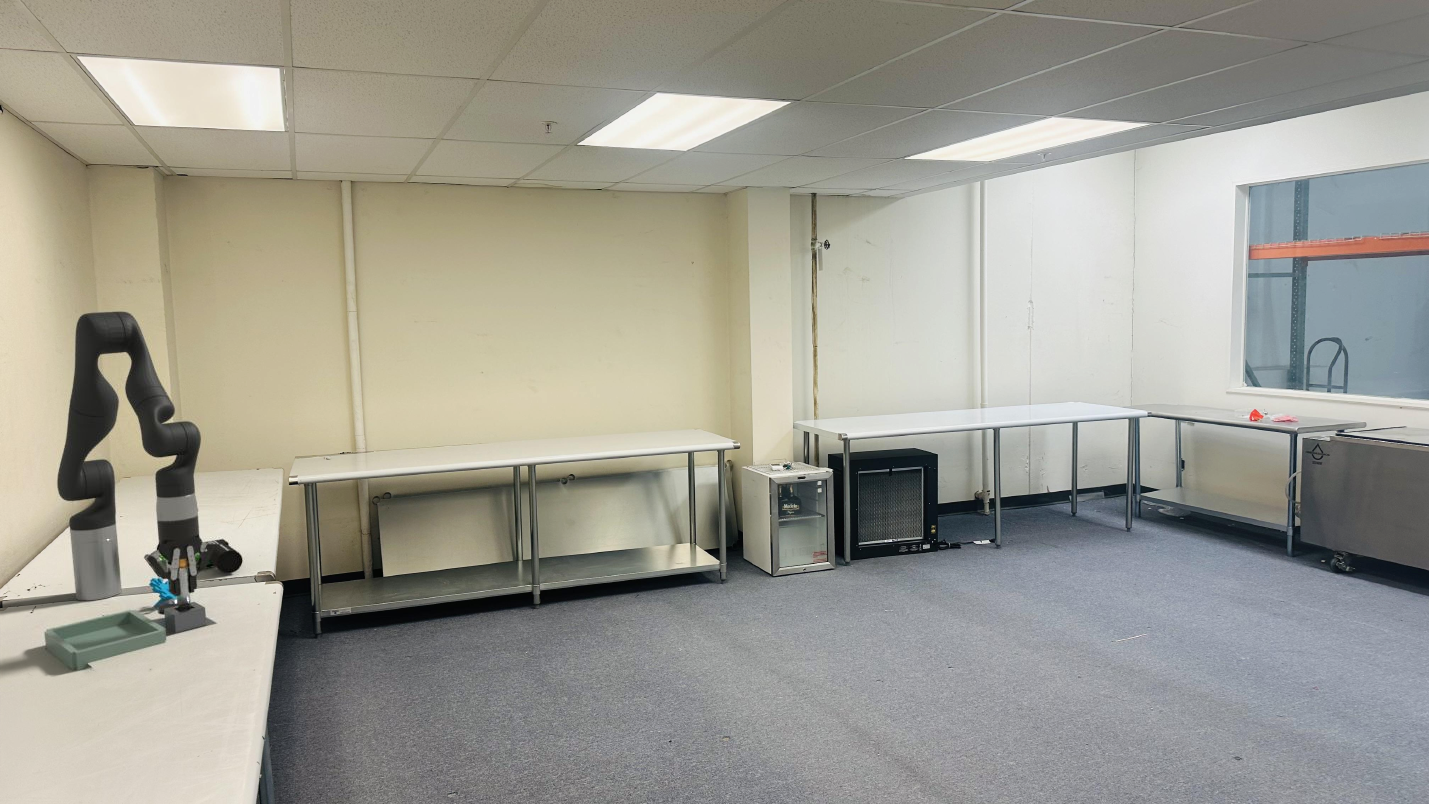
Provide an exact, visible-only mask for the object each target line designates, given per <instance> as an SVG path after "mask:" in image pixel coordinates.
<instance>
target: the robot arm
mask: <svg viewBox="0 0 1429 804" xmlns="http://www.w3.org/2000/svg"><path fill="white" fill-rule="evenodd" d="M74 338H75V342H74V351H75V352H74V374H73V379H72V381H73V382H72V389H71V394H70V399H69V407H68V413H67V426H66V427H67V428H66V436H65V437H66V438H65V441H64V443H65V444H64V448H63V451H62V456H61V460H60V463H59V468H58V472H57V480H56V482H57V483H56V484H57V485H56V487H57V491H58V495H59V496H60V498H61V499H62V500H64V501H68V502H77V501H84V500H90V499H91V500H93V499H94V501H93V502H92V504H90V505H89V506H88V507H86V508H85V509H83V510H81V511H79V512H77V513H75V514H73V515H72V516H71V517H70V518H69V523H68V525H69V535H70V545H71V554H72V555H71V556H72V567H73V568H72V569H73V579H74V589H75V599H76V600H79V601H96V600H101V599H102V600H103V599H107V598H111V597H114V596H117V595H118V594H121V592H122V581H121V579H122V578H121V567H120V565H121V563H120V555H119V554H120V553H119V543H118V531H117V530H118V529H117V519H116V517H117V516H116V515H117V509H116V508H117V507H116V477H115V470H114V468H113V465H112V464H111V462H110V461H109V460H108V459H104V458H103V459H92V460H86V459H87V457H88V455H89V454H90V453H91V452H92V450H94V449H95V448H96V447H97V446H98V445H99V444H100V443H101V442H102V441H103V440H105V438H106V437H107V436H108V435H109V433H111V431H112V430H113V429H114V427H115V425H116V422H117V419H118V418H117V417H118V411H119V405H120V404H119V403H120V400H119V396H118V393H117V392H116V391H115V389H114V387H113V386H112V385H111V383H110V382H109V381H108V380H107V379H106V378H105V376H104V375H103V373H102V371H101V370H100V369H99V358H100V357H101V355H109V354H122V353H127V355H128V356H129V358H130V363H131V364H130V368H129V372H128V375H127V378H126V381H125V386H124V389H125V391H124V392H125V396H126V399H127V400H128V402H129V404H130V406H131V408H132V410H133V411H134V413H135V415H136V416H137V420H138V424H139V428H140V432H141V434H140V435H141V442H142V443H141V444H142V447H143V449H144V451H145V452H146V454H148V455H149V456H151V457H154V458H158V459H159V458H168V457H173V456H175V459H174V461H173V462H172V463H171V464H169V465H167V466H165V467H164V466H163V467H162V468H160V469H158V470H157V471H156V472H155V476H154V477H155V490H156V492H155V493H156V503H155V504H156V506H155V507H156V508H155V509H156V525H157V536H158V543H157V546H156V550H154V551H152V552H151V553H150V554H148V553H147V554H145V555H144V557H143V558H144V560H145V561H146V563H147V564H148V565H149V566H150V568H151V570H152V571H153V572H154V574H155V575H156V576H157V578H161V579H163V580H167V581H168V584H169V592H170V593H171V594H173V596H175V597H176V596H179V595H180V594H179V580H178V579H177V571H178V568H179V561H180V559H184V558H186V560H187V561H188V573H189V587H190V594H192V593H193V594H194V593H195V590H197V589H198V588H197V587H198V582H197V574H199V573H200V572H204V571H205V570H206V569H207V568H206V566H207V564H208V562H209V559H210V557H211V555H212V553H213V550H214V548H215V545H214V544H211V543H209V542H207V541H203V539H202V538H201V537H200V524H199V507H198V502H197V497H196V488H195V486H196V485H195V476H194V475H195V470H196V466H197V460H198V457H199V456H198V455H199V452H200V448H201V443H202V441H201V440H202V436H201V432H200V430H199V428H198V426H197V425H196V424H195V423H193V422H192V421H188V420H183V421H182V420H181V421H175V422H168V421H169V420H171V419H172V418H173V417H174V415H175V412H176V409H175V406H174V404H173V402H172V400H171V398H170V397H169V394H168V393H167V392H166V389H165V387H164V386H163V385H162V383H161V381H160V378H159V376H158V374H157V372H156V369H155V366H154V363H153V359H152V357H151V354H150V351H149V348H148V346H147V343H146V340H145V338H144V334H143V332H142V329H141V327H140V325H139V323H138V321H137V319H136V318H135V317H134V315H132V314H131V313H129V312H128V311H119V310H118V311H105V312H104V311H101V312H100V311H99V312H89V313H83V314H82V315H80V316H79V318H78V320H77V323H76V327H75V337H74ZM166 422H167V423H166ZM205 542H207V543H205ZM200 547H201V549H200V550H201V554H200V556H199V559H198V561H197V563H196V562H195V557H194V556H195V554H196V553H197V551H198V550H199V548H200ZM159 555H162V556H163V557H164V558H165V559H166V560H167V563H165V564H166V571H165V570H164V568H163V567H162V566H161V564H160V563H159V562H160V560H161V558H160V557H159Z"/></svg>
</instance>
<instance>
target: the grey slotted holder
mask: <svg viewBox="0 0 1429 804" xmlns="http://www.w3.org/2000/svg"><path fill="white" fill-rule="evenodd" d="M156 608H157V613H158V614H159V615H164V617H163V618H159V619H154V620H153V621H154V622H155V623H157V624H159V625H160V626H162V627H164V628H165V629H166V638H167V637H169V636H174V635H179V634H181V633H182V634H183V633H185V632H190V631H193V630H197V629H201V628H205V627H209V626H212V625H216V624H218V623H217V622H216V621H214V620H212V619H210V618H209V617H207V615H206V614H207V613H206V607H205V606H204V605H201V604H199V603H197V602H195V601H191V609H188V610H184V611H180V612H179V611H178V601H177V599H170V600H167V601H164V602H161V603H159V604H158V605H157V607H156Z"/></svg>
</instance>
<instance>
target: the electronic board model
mask: <svg viewBox="0 0 1429 804" xmlns="http://www.w3.org/2000/svg"><path fill="white" fill-rule="evenodd" d="M204 542H205V543H207V542H209V543H211V544H214V545H215V548H214V550H213V553H212V555H211V557H210V559H209V562H208V564H207V566H206V567H209V568H213V567H212V566H214V567H215V568H216V569H218V570H219V571H220V572H222V573H224V574H232V573H235V572H236V571H238V570H240V568H241V567H242V565H243V562H244V561H243V556H242V554H241V553H240V552H239V551H238V550H236V549H234V548H233V547H232V546H230V545H229V542H228V541H227V540H225V539H224V538H221V539H214V540H210V541H204ZM200 549H201V547H200V548H199V550H198V551H197V553H196V554H195V556H194V557H195V562H196V563H197V561H198V559H199V556H200V554H201V550H200ZM159 558H160V560H161V561H163V562H164V563H165V564H166V563H167V560H166V559H165V558H164V557H163V556H162V555H161V554H160V555H159Z"/></svg>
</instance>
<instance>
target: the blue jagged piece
mask: <svg viewBox="0 0 1429 804" xmlns="http://www.w3.org/2000/svg"><path fill="white" fill-rule="evenodd" d="M149 582H150V583H149V584H148V585H149V586H150V587H151V590H152V592H153V593H155V594H159V595H158V597H159V600H158V601H157V602H156V603H154V605H153V606H152V608H155V607H156V608H158V607H157V605H158V604H159V603H161V602H164V601H167V600H170V599H177V596H176V597H175V596H173V594H171V593H170V592H169V584H168V580H166V581H165V582H164V579H162V578H161V577H153V578H151V579H150V580H149Z"/></svg>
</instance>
